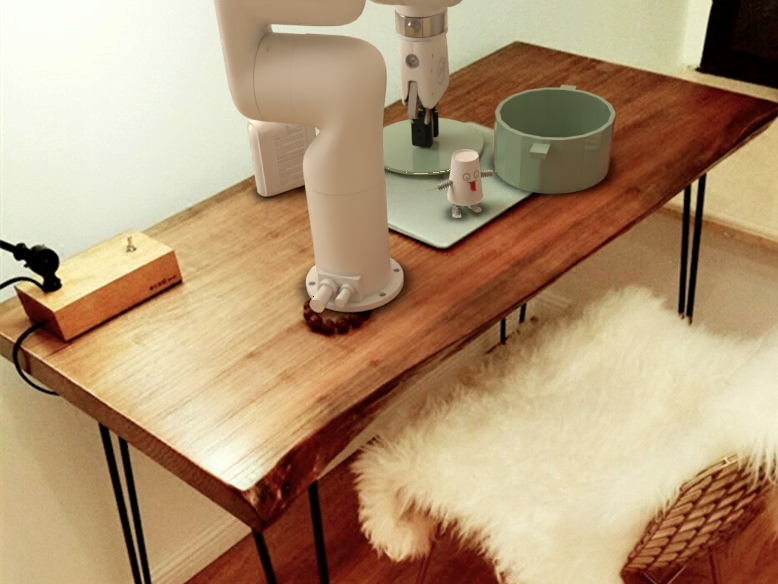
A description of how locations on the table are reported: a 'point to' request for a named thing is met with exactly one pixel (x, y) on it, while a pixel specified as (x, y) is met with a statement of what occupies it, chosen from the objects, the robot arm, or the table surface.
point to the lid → (427, 159)
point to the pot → (553, 139)
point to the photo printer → (278, 154)
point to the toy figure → (465, 181)
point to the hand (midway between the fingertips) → (425, 139)
